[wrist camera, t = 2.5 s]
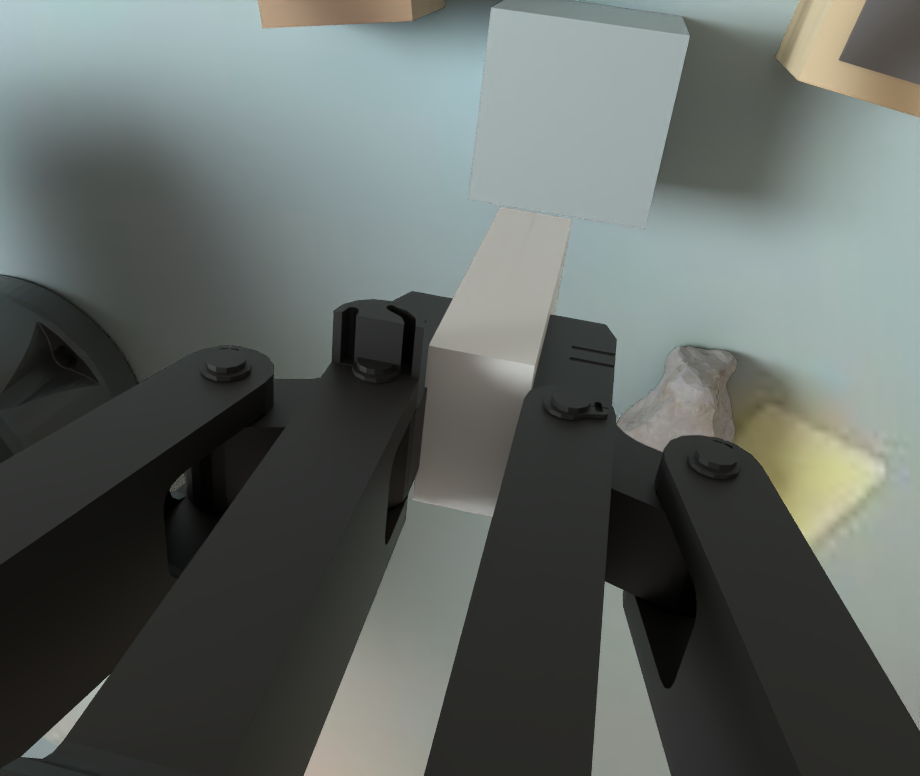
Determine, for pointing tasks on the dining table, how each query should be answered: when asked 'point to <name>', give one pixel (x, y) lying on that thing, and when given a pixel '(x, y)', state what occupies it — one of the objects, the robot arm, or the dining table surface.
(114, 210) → the dining table surface
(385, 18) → the walnut block
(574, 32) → the plain block
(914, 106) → the oak block
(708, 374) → the stone
